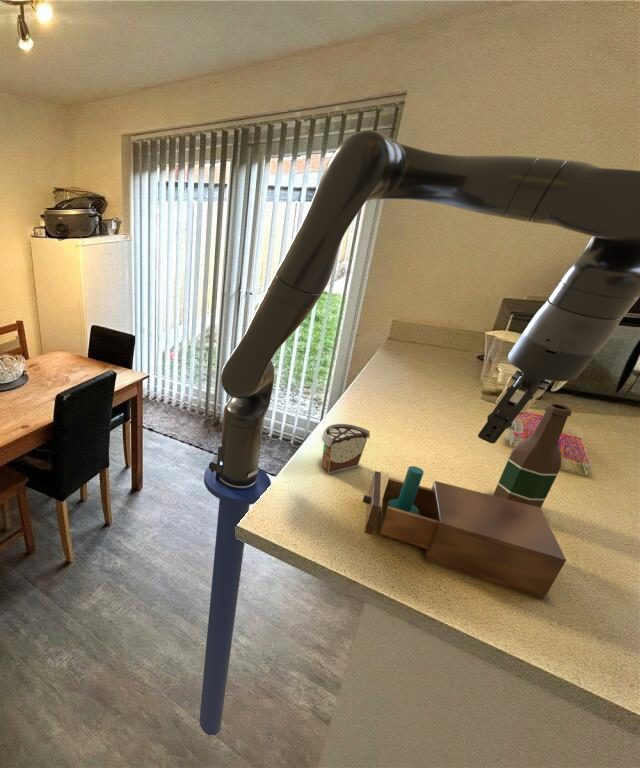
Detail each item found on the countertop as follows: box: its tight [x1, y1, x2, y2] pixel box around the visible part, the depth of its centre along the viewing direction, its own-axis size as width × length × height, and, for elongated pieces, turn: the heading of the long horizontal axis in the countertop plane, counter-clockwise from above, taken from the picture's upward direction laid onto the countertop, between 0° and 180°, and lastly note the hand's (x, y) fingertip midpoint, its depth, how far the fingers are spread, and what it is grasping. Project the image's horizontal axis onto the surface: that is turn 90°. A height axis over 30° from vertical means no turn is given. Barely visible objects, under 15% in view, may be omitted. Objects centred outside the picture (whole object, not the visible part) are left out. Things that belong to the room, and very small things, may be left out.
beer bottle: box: [492, 403, 572, 509], centre depth 80 cm, size 8×8×24 cm
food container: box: [321, 423, 371, 474], centre depth 98 cm, size 12×6×10 cm, turn 108°
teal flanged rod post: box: [385, 465, 425, 515], centre depth 76 cm, size 5×5×12 cm
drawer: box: [362, 470, 439, 550], centre depth 77 cm, size 16×13×7 cm
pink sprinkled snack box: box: [505, 411, 593, 477], centre depth 106 cm, size 30×15×5 cm, turn 139°
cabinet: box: [425, 480, 567, 600], centre depth 72 cm, size 16×14×9 cm
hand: (494, 428), depth 62 cm, fingers open, 8 cm apart
